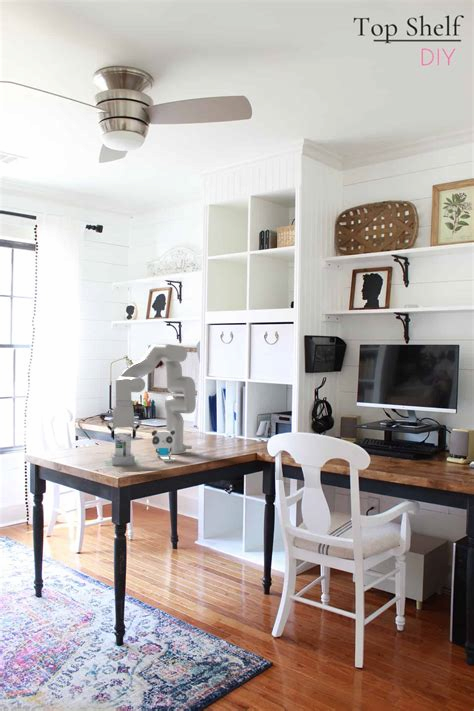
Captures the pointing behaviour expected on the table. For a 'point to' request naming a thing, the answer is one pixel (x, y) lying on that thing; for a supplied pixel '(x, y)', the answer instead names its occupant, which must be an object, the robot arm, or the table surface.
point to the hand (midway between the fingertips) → (123, 438)
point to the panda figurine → (163, 444)
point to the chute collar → (122, 459)
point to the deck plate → (108, 463)
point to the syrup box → (123, 444)
